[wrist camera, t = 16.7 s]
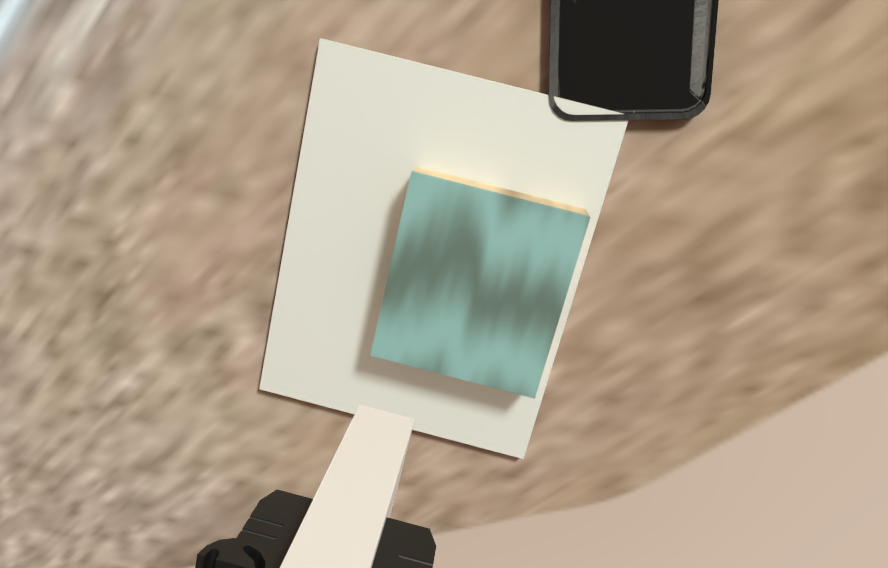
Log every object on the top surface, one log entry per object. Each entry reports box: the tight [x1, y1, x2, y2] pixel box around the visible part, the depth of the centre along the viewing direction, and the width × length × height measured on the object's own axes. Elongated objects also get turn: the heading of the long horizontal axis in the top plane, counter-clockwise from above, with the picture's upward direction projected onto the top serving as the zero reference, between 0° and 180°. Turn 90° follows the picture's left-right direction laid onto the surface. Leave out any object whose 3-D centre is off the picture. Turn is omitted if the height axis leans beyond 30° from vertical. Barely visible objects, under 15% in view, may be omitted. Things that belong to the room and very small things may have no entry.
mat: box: [259, 38, 628, 459], centre depth 37 cm, size 16×20×1 cm
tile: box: [370, 167, 590, 399], centre depth 36 cm, size 10×2×9 cm
